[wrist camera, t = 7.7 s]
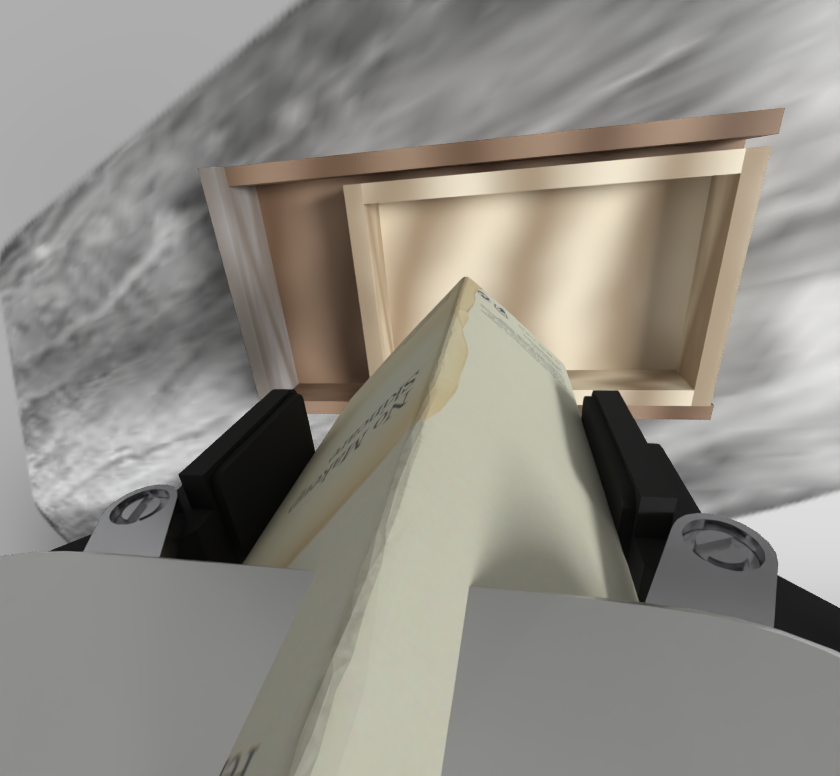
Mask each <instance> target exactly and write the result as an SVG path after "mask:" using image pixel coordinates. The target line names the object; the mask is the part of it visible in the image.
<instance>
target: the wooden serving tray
mask: <svg viewBox="0 0 840 776" xmlns="http://www.w3.org/2000/svg"><path fill="white" fill-rule="evenodd" d="M784 109H785V108H777V109H768V110H758V111H749V112H740V113H730V114H721V115H711V116H702V117H693V118H683V119H674V120H664V121H655V122H645V123H636V124H627V125H617V126H608V127H598V128H589V129H579V130H570V131H561V132H551V133H542V134H532V135H523V136H514V137H504V138H495V139H485V140H476V141H466V142H457V143H448V144H438V145H429V146H419V147H410V148H400V149H391V150H382V151H372V152H363V153H353V154H344V155H335V156H325V157H316V158H306V159H297V160H287V161H278V162H269V163H259V164H250V165H240V166H231V167H206V168H198V172H199V175H200V179H201V183H202V187H203V190H204V194H205V198H206V202H207V205H208V209H209V213H210V217H211V220H212V224H213V228H214V232H215V235H216V239H217V243H218V247H219V250H220V254H221V258H222V262H223V265H224V269H225V273H226V277H227V280H228V284H229V288H230V292H231V295H232V299H233V303H234V307H235V310H236V314H237V318H238V322H239V325H240V329H241V333H242V337H243V340H244V344H245V348H246V352H247V355H248V359H249V363H250V367H251V370H252V374H253V378H254V382H255V385H256V389H257V393H258V397H259V400H261V399H263V398H264V397H265V396H266V395H267V394H268V393H269V392H270V391H271V390H273V389H294V390H295V391H296V392H297V393H298V394H301V395H302V397H303V399H304V403H305V407H306V412H307V413H309V414H341V413H342V411H343V410H344V408H345V407H346V405H347V404H348V402H349V401H350V399H351V398H352V397H353V396H354V395H355V394H356V393H357V391H358V390H359V389H360V388H361V387H362V386H363V385H364V384H365V382H366V381H367V380H368V379H369V378H370V375H369V368H368V361H367V353H366V346H365V339H364V332H363V325H362V318H361V311H360V304H359V297H358V289H357V282H356V275H355V268H354V261H353V254H352V247H351V240H350V233H349V225H348V218H347V211H346V204H345V197H344V190H343V185H351V184H362V183H373V182H384V181H395V180H406V179H417V178H427V177H438V176H449V175H460V174H471V173H482V172H493V171H504V170H515V169H526V168H536V167H547V166H558V165H569V164H580V163H591V162H602V161H613V160H624V159H635V158H645V157H656V156H667V155H678V154H689V153H700V152H711V151H722V150H733V149H744V145H745V140H746V139H750V138H756V137H761V136H767V135H773V134H779V130H780V126H781V122H782V118H783V114H784ZM577 406H578V409H579V412H580V416H582V405H577ZM627 407H628V409H629V410H630V412H631V414H632V416H633V418H634V419H688V420H710V419H711V415H712V411H713V407H714V405H713V404H712V403H711V406H635V405H627Z"/></svg>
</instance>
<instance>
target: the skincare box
mask: <svg viewBox="0 0 840 776" xmlns="http://www.w3.org/2000/svg"><path fill="white" fill-rule="evenodd" d="M242 564H246V565H257V566H268V567H280V568H291V569H302V570H309V571H316V572H315V574H314V576H313V579H312V581H311V583H310V585H309V587H308V590H307V592H306V594H305V596H304V598H303V600H302V603H301V605H300V607H299V609H298V611H297V613H296V615H295V618H294V620H293V622H292V624H291V626H290V628H289V630H288V632H287V635H286V637H285V639H284V641H283V643H282V645H281V647H280V649H279V651H278V653H277V655H276V658H275V660H274V662H273V664H272V666H271V668H270V670H269V672H268V674H267V676H266V678H265V681H264V683H263V685H262V687H261V689H260V691H259V693H258V695H257V697H256V699H255V701H254V704H253V706H252V708H251V710H250V712H249V714H248V716H247V718H246V720H245V723H244V725H243V727H242V729H241V731H240V733H239V735H238V737H237V740H236V742H235V744H234V746H233V748H232V750H231V752H230V754H229V756H228V759H227V761H226V763H225V765H224V767H223V769H222V771H221V773H220V775H219V776H441V772H442V765H443V758H444V751H445V745H446V738H447V731H448V725H449V718H450V712H451V705H452V699H453V692H454V686H455V679H456V672H457V665H458V659H459V652H460V645H461V638H462V631H463V625H464V618H465V611H466V604H467V598H468V591H469V586H484V587H498V588H509V589H519V590H529V591H540V592H550V593H561V594H571V595H582V596H592V597H603V598H612V599H620V600H627V601H635V602H639V600H638V596H637V593H636V590H635V587H634V583H633V580H632V577H631V574H630V570H629V567H628V564H627V561H626V559H625V556H624V553H623V550H622V547H621V543H620V540H619V537H618V533H617V530H616V527H615V524H614V521H613V518H612V515H611V512H610V509H609V505H608V502H607V498H606V495H605V492H604V489H603V486H602V483H601V479H600V476H599V473H598V470H597V467H596V463H595V460H594V457H593V454H592V451H591V448H590V445H589V442H588V439H587V435H586V432H585V429H584V426H583V423H582V419H581V416H580V412H579V409H578V406H577V403H576V399H575V396H574V393H573V390H572V386H571V383H570V380H569V377H568V374H567V371H566V368H565V366H564V364H563V363H562V362H561V361H560V360H559V359H558V358H557V357H556V356H555V355H554V354H553V353H552V352H550V351H549V350H548V349H547V348H546V347H545V346H544V345H543V344H542V343H541V342H540V341H539V340H538V339H537V338H536V337H535V336H534V335H533V334H532V333H531V332H530V331H529V330H528V329H527V328H526V327H524V326H523V325H522V324H521V323H520V322H519V321H518V320H517V319H516V318H515V317H514V316H513V315H512V314H510V313H509V312H508V311H507V310H506V309H505V308H504V307H503V306H502V305H501V304H499V303H498V302H497V301H496V300H495V299H494V298H493V297H491V296H490V295H489V294H488V293H487V292H486V291H484V290H483V289H482V288H481V287H480V286H479V285H478V284H476V283H475V282H474V281H473V280H472V279H470V278H469V277H463V278H462V279H461V280H460V281H459V282H458V283H457V284H456V285H455V286H454V287H453V288H452V289H451V290H450V291H449V293H448V294H447V295H446V296H445V297H444V298H443V299H442V300H441V301H440V302H439V303H438V304H437V305H436V306H435V307H434V308H433V309H432V310H431V311H430V312H429V313H428V314H427V316H426V317H425V318H424V319H423V320H422V321H421V322H420V323H419V324H418V325H417V326H416V327H415V328H414V329H413V330H412V332H411V333H410V334H409V335H408V336H407V337H406V338H405V339H404V340H403V341H402V342H401V343H400V345H399V346H398V347H397V348H396V349H395V350H394V351H393V352H392V353H391V354H390V356H389V357H388V358H387V359H386V360H385V361H384V362H383V363H382V365H381V366H380V367H379V368H378V369H377V370H376V371H375V372H374V373H373V375H372V376H371V377H370V378H369V379H368V380H367V381H366V382H365V384H364V385H363V386H362V387H361V388H360V389H359V390H358V391H357V393H356V394H355V395H354V396H353V397H352V398H351V399H350V401H349V402H348V404H347V405H346V407H345V408H344V410H343V411H342V413H341V414H340V416H339V417H338V419H337V420H336V422H335V423H334V425H333V426H332V428H331V429H330V431H329V432H328V434H327V435H326V437H325V438H324V440H323V441H322V443H321V444H320V446H319V447H318V449H317V450H316V452H315V453H314V455H313V456H312V458H311V459H310V461H309V462H308V464H307V465H306V467H305V468H304V470H303V472H302V473H301V475H300V476H299V478H298V479H297V481H296V482H295V484H294V485H293V487H292V488H291V490H290V491H289V493H288V494H287V496H286V497H285V499H284V501H283V502H282V504H281V505H280V507H279V508H278V510H277V511H276V513H275V514H274V516H273V517H272V519H271V520H270V522H269V523H268V525H267V527H266V528H265V530H264V531H263V533H262V534H261V536H260V537H259V539H258V541H257V542H256V544H255V545H254V547H253V548H252V550H251V551H250V553H249V554H248V556H247V557H246V559H245V560H244V562H243V563H242Z"/></svg>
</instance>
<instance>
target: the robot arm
mask: <svg viewBox="0 0 840 776" xmlns="http://www.w3.org/2000/svg"><path fill="white" fill-rule="evenodd" d="M581 419H582V423H583V426H584V429H585V432H586V435H587V439H588V442H589V445H590V448H591V451H592V454H593V457H594V460H595V463H596V467H597V470H598V473H599V476H600V479H601V483H602V486H603V489H604V492H605V495H606V498H607V502H608V505H609V509H610V512H611V515H612V518H613V521H614V524H615V527H616V530H617V533H618V537H619V540H620V543H621V547H622V550H623V553H624V556H625V559H626V561H627V564H628V567H629V570H630V574H631V577H632V580H633V583H634V587H635V590H636V593H637V596H638V600H639V602H635V601H627V600H620V599H612V598H603V597H592V596H582V595H571V594H561V593H550V592H540V591H529V590H519V589H509V588H498V587H484V586H469V591H468V598H467V604H466V611H465V618H464V625H463V631H462V638H461V645H460V652H459V659H458V665H457V672H456V679H455V686H454V692H453V699H452V705H451V712H450V718H449V725H448V731H447V738H446V745H445V751H444V758H443V765H442V772H441V776H840V608H838V607H837V606H835V605H833V604H831V603H829V602H827V601H825V600H823V599H822V598H820V597H818V596H816V595H814V594H812V593H810V592H808V591H806V590H805V589H803V588H801V587H799V586H797V585H795V584H793V583H791V582H789V581H787V580H786V579H784V578H782V577H780V576H778V575H777V572H778V561H777V556H776V552H775V551H774V549H773V548H772V547H771V545H770V544H769V542H767V540H765V539H764V538H763V537H762V536H761V535H760V534H758V533H757V532H756V531H754V530H752V529H751V528H749V527H747V526H746V525H744V524H742V523H740V522H737V521H735V520H732V519H730V518H727V517H723V516H719V515H714V514H705V513H701V512H700V510H699V508H698V507H697V505H696V503H695V502H694V500H693V498H692V497H691V495H690V493H689V492H688V490H687V488H686V487H685V485H684V483H683V482H682V480H681V478H680V476H679V475H678V473H677V471H676V470H675V468H674V466H673V465H672V463H671V461H670V460H669V458H668V456H667V455H666V453H665V451H664V450H663V448H662V447H661V446H660V444H654V443H647V441H646V440H645V438H644V436H643V434H642V432H641V431H640V429H639V427H638V425H637V423H636V421H635V420H634V418H633V416H632V414H631V412H630V410H629V409H628V407H627V405H626V403H625V401H624V400H623V398H622V396H621V394H620V392H619V391H618V390H593V392H592V395H591V396H584V398H583V405H582V416H581ZM314 453H315V449H314V444H313V440H312V435H311V430H310V426H309V421H308V417H307V412H306V407H305V403H304V399H303V397H302V395H301V394H298V393H297V392H296V391H295V390H294V389H273V390H271V391H270V392H269V393H268V394H267V395H266V396H265V397H264V398H263V399H261V400H260V401H259V402H258V403H257V404H256V405H255V406H254V407H253V408H251V409H250V410H249V411H248V412H247V413H246V414H245V415H244V416H243V417H242V418H240V419H239V420H238V421H237V422H236V423H235V424H234V425H233V426H232V427H230V428H229V429H228V430H227V431H226V432H225V433H224V434H223V435H222V436H221V437H219V438H218V439H217V440H216V441H215V442H214V443H213V444H212V445H211V446H209V447H208V448H207V449H206V450H205V451H204V452H203V453H202V454H201V455H200V456H198V457H197V458H196V459H195V460H194V461H193V462H192V463H191V464H190V465H188V466H187V467H186V468H185V469H184V470H183V471H182V472H181V473H180V474H178V475H179V477H180V480H181V483H182V486H181V487H180V488H179V489H178V490H176V489H175V488H174V487H172V486H169V485H153V486H148V487H144V488H141V489H138V490H135V491H133V492H131V493H129V494H126V495H125V496H123V497H121V498H120V499H118V500H116V501H115V502H114V503H113V504H112V505H110V506H109V507H108V508H107V509H106V510H105V512H104V513H103V515H102V516H101V518H100V520H99V522H98V524H97V526H96V528H95V530H94V532H93V534H91V535H89V536H86V537H84V538H81V539H79V540H76V541H74V542H71V543H68V544H66V545H63V546H61V547H58V548H56V549H53V550H51V551H48V552H29V553H21V554H12V555H4V556H0V776H219V775H220V773H221V771H222V769H223V767H224V765H225V763H226V761H227V759H228V756H229V754H230V752H231V750H232V748H233V746H234V744H235V742H236V740H237V737H238V735H239V733H240V731H241V729H242V727H243V725H244V723H245V720H246V718H247V716H248V714H249V712H250V710H251V708H252V706H253V704H254V701H255V699H256V697H257V695H258V693H259V691H260V689H261V687H262V685H263V683H264V681H265V678H266V676H267V674H268V672H269V670H270V668H271V666H272V664H273V662H274V660H275V658H276V655H277V653H278V651H279V649H280V647H281V645H282V643H283V641H284V639H285V637H286V635H287V632H288V630H289V628H290V626H291V624H292V622H293V620H294V618H295V615H296V613H297V611H298V609H299V607H300V605H301V603H302V600H303V598H304V596H305V594H306V592H307V590H308V587H309V585H310V583H311V581H312V579H313V576H314V574H315V572H316V571H309V570H302V569H291V568H280V567H268V566H257V565H246V564H242V563H243V562H244V560H245V559H246V557H247V556H248V554H249V553H250V551H251V550H252V548H253V547H254V545H255V544H256V542H257V541H258V539H259V537H260V536H261V534H262V533H263V531H264V530H265V528H266V527H267V525H268V523H269V522H270V520H271V519H272V517H273V516H274V514H275V513H276V511H277V510H278V508H279V507H280V505H281V504H282V502H283V501H284V499H285V497H286V496H287V494H288V493H289V491H290V490H291V488H292V487H293V485H294V484H295V482H296V481H297V479H298V478H299V476H300V475H301V473H302V472H303V470H304V468H305V467H306V465H307V464H308V462H309V461H310V459H311V458H312V456H313V455H314Z"/></svg>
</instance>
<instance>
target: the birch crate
mask: <svg viewBox="0 0 840 776" xmlns="http://www.w3.org/2000/svg"><path fill="white" fill-rule="evenodd" d="M771 147H772V146H765V147H754V148H744V149H733V150H722V151H711V152H700V153H689V154H678V155H667V156H656V157H645V158H635V159H624V160H613V161H602V162H591V163H580V164H569V165H558V166H547V167H536V168H526V169H515V170H504V171H493V172H482V173H471V174H460V175H449V176H438V177H427V178H417V179H406V180H395V181H384V182H373V183H362V184H351V185H343V190H344V197H345V204H346V211H347V218H348V225H349V233H350V240H351V247H352V254H353V261H354V268H355V275H356V282H357V289H358V297H359V304H360V311H361V318H362V325H363V332H364V339H365V346H366V353H367V361H368V368H369V375H370V377H371V376H372V375H373V373H374V372H375V371H376V370H377V369H378V368H379V367H380V366H381V365H382V363H383V362H384V361H385V360H386V359H387V358H388V357H389V356H390V354H391V353H392V352H393V351H394V350H395V349H396V348H397V347H398V346H399V345H400V343H401V342H402V341H403V340H404V339H405V338H406V337H407V336H408V335H409V334H410V333H411V332H412V330H413V329H414V328H415V327H416V326H417V325H418V324H419V323H420V322H421V321H422V320H423V319H424V318H425V317H426V316H427V314H428V313H429V312H430V311H431V310H432V309H433V308H434V307H435V306H436V305H437V304H438V303H439V302H440V301H441V300H442V299H443V298H444V297H445V296H446V295H447V294H448V293H449V291H450V290H451V289H452V288H453V287H454V286H455V285H456V284H457V283H458V282H459V281H460V280H461V279H462V278H463V277H469V278H470V279H472V280H473V281H474V282H475V283H476V284H478V285H479V286H480V287H481V288H482V289H483V290H484V291H486V292H487V293H488V294H489V295H490V296H491V297H493V298H494V299H495V300H496V301H497V302H498V303H499V304H501V305H502V306H503V307H504V308H505V309H506V310H507V311H508V312H509V313H510V314H512V315H513V316H514V317H515V318H516V319H517V320H518V321H519V322H520V323H521V324H522V325H523V326H524V327H526V328H527V329H528V330H529V331H530V332H531V333H532V334H533V335H534V336H535V337H536V338H537V339H538V340H539V341H540V342H541V343H542V344H543V345H544V346H545V347H546V348H547V349H548V350H549V351H550V352H552V353H553V354H554V355H555V356H556V357H557V358H558V359H559V360H560V361H561V362H562V363H563V364H564V366H565V368H566V371H567V374H568V377H569V380H570V383H571V386H572V390H573V393H574V396H575V399H576V403H577V405H583V398H584V396H591V395H592V392H593V390H618V391H619V392H620V394H621V396H622V398H623V400H624V401H625V403H626V405H635V406H711V402H712V397H713V393H714V389H715V385H716V380H717V376H718V372H719V368H720V363H721V359H722V355H723V351H724V346H725V342H726V338H727V334H728V329H729V325H730V321H731V317H732V312H733V308H734V304H735V300H736V296H737V291H738V287H739V283H740V279H741V274H742V270H743V266H744V262H745V257H746V253H747V249H748V245H749V240H750V236H751V232H752V228H753V223H754V219H755V215H756V211H757V206H758V202H759V198H760V194H761V189H762V185H763V181H764V177H765V172H766V168H767V164H768V160H769V155H770V151H771Z"/></svg>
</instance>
